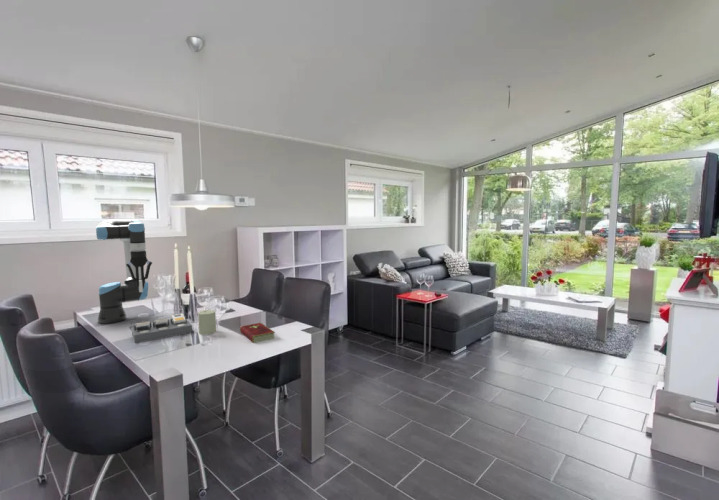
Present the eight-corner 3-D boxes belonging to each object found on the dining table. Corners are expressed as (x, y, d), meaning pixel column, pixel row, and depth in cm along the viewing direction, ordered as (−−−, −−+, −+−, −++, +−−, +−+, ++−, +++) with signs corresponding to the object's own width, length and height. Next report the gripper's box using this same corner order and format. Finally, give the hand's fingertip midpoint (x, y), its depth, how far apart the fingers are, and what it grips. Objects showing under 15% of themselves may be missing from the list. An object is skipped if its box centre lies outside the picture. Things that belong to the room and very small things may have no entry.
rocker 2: (171, 317, 215) (171, 315, 215) (182, 315, 219) (182, 313, 218) (174, 323, 209) (174, 321, 209) (185, 321, 213) (185, 319, 212)
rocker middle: (154, 323, 210) (153, 321, 210) (165, 321, 213) (165, 319, 214) (156, 323, 203) (155, 320, 204) (168, 321, 207) (167, 318, 207)
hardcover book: (252, 343, 191) (252, 336, 190) (240, 333, 208) (239, 325, 207) (275, 339, 198) (274, 331, 197) (260, 329, 215) (260, 322, 214)
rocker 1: (135, 326, 205) (135, 323, 205) (148, 324, 208) (147, 321, 208) (137, 326, 198) (136, 323, 198) (149, 324, 202) (149, 321, 202)
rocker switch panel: (131, 334, 205) (130, 322, 205) (186, 325, 222) (185, 314, 221) (134, 342, 193) (133, 330, 192) (192, 332, 209) (191, 320, 208)
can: (212, 328, 216) (211, 308, 214) (219, 331, 209) (218, 311, 208) (196, 332, 209) (195, 311, 208) (202, 335, 203) (201, 314, 201)
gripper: (125, 252, 200) (128, 294, 203) (152, 250, 208) (155, 291, 211) (123, 250, 206) (126, 291, 209) (150, 248, 214) (152, 288, 217)
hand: (141, 291), depth 210 cm, fingers closed
